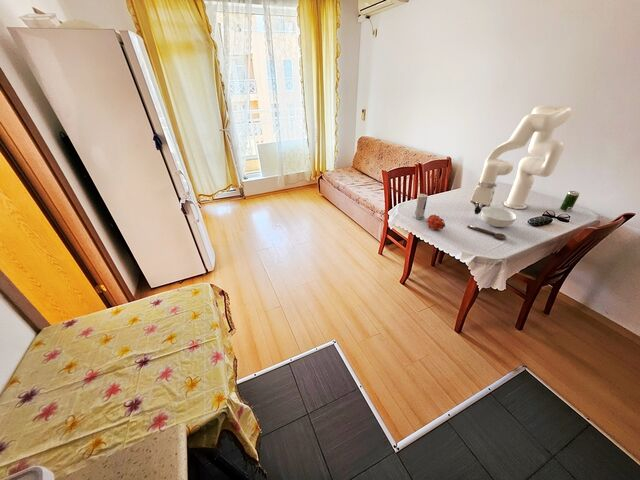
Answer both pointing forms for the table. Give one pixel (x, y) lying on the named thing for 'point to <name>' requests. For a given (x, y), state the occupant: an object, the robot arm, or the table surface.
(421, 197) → the beverage can
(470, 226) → the wooden spoon
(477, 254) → the table surface
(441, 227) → the dragon fruit
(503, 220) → the cereal bowl
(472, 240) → the table surface
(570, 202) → the beer can
